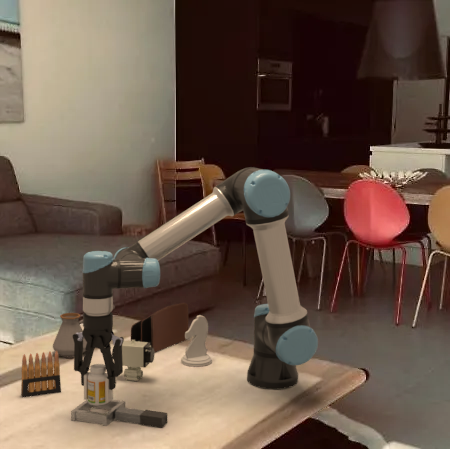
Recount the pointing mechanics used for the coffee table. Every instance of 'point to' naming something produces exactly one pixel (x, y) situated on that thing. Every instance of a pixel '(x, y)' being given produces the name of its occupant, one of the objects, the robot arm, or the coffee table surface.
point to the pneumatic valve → (135, 358)
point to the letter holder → (163, 327)
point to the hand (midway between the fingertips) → (98, 399)
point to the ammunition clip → (40, 376)
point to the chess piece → (197, 344)
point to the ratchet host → (118, 414)
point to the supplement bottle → (97, 384)
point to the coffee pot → (68, 335)
